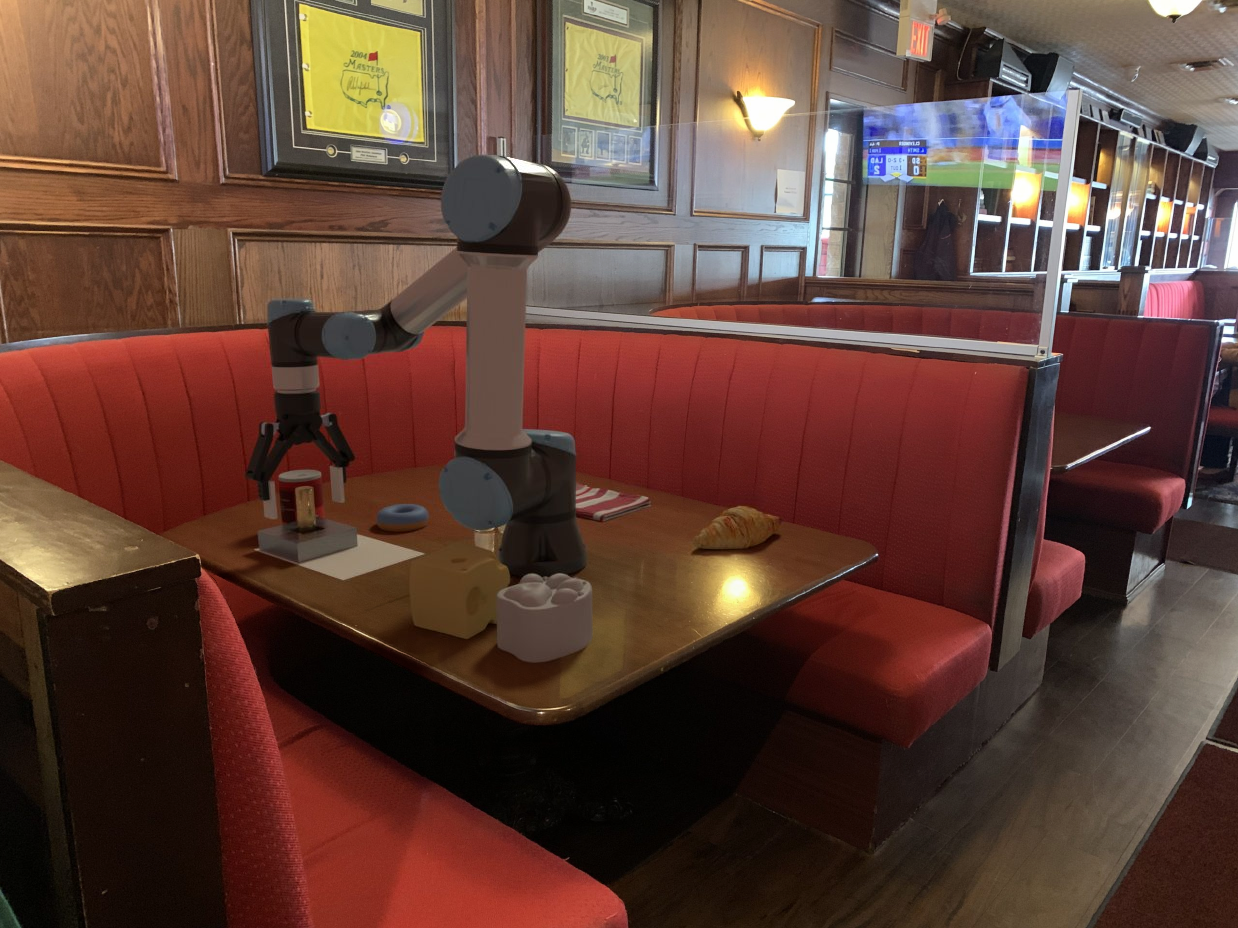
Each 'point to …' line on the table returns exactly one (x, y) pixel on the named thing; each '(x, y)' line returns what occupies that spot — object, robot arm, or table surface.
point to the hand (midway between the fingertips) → (305, 509)
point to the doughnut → (402, 518)
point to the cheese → (456, 589)
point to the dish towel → (606, 503)
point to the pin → (305, 509)
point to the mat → (357, 558)
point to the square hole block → (307, 540)
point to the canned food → (288, 495)
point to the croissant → (737, 529)
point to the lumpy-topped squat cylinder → (544, 617)
